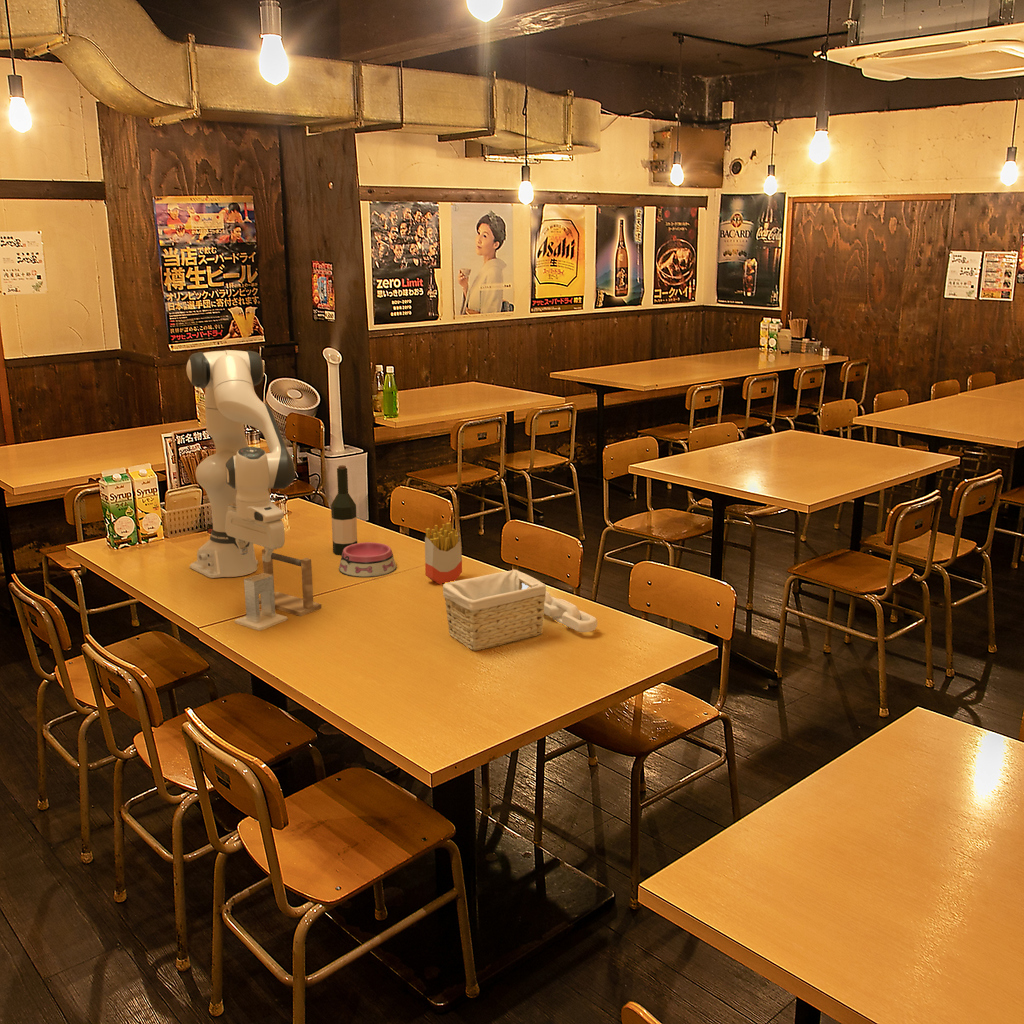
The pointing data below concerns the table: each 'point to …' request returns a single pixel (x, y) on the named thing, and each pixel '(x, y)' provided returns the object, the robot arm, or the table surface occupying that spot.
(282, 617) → the ceramic tile
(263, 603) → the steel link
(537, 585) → the storage basket
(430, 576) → the french fries container
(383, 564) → the dog bowl
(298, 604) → the rail stand
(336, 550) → the wine bottle
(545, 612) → the chain
